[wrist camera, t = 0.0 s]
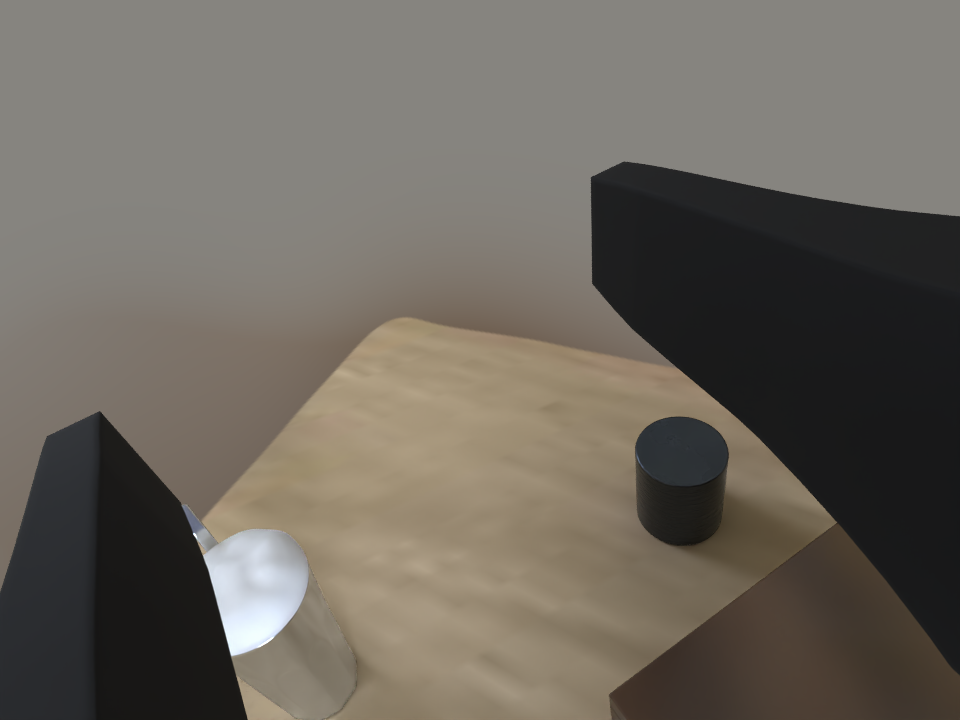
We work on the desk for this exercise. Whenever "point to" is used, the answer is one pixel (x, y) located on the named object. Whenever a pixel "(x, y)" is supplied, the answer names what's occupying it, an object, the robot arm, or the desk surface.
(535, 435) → the desk surface
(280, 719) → the desk surface
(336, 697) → the milkshake
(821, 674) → the cabinet
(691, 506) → the cylinder
